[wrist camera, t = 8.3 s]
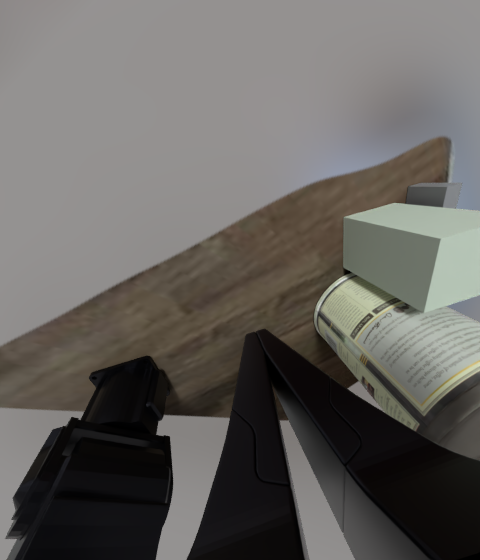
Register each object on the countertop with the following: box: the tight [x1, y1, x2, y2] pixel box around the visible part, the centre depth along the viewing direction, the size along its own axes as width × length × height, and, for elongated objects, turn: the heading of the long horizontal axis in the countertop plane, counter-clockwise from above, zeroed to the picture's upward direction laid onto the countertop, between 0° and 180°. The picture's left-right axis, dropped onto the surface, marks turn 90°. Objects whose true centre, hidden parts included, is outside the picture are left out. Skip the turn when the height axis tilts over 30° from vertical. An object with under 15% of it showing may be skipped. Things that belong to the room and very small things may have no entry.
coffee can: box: [314, 273, 480, 460], centre depth 19 cm, size 10×10×14 cm
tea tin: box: [343, 203, 480, 313], centre depth 18 cm, size 6×6×9 cm
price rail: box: [406, 183, 462, 209], centre depth 23 cm, size 2×20×4 cm, turn 13°
